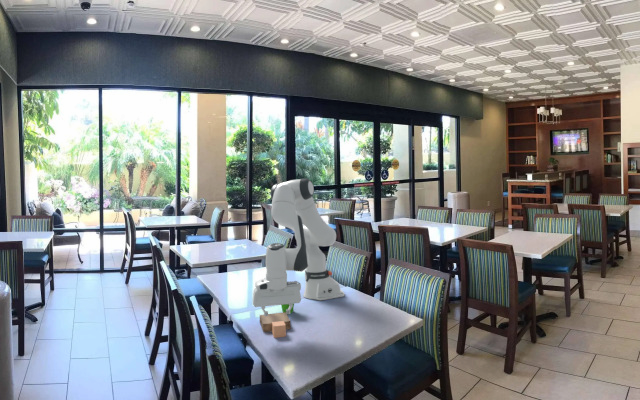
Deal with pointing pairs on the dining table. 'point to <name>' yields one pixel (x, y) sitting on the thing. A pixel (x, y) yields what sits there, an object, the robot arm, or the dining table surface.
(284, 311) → the cup
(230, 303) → the dining table surface
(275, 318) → the base slab
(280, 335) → the cube
